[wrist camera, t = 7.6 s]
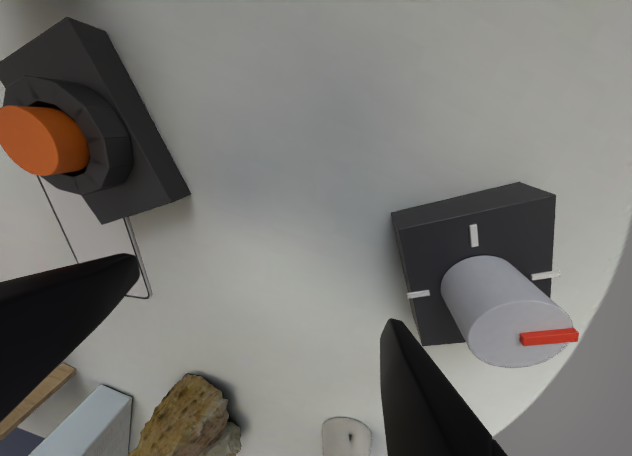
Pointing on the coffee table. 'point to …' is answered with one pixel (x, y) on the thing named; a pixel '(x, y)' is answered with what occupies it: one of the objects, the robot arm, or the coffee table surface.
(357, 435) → the beer glass
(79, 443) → the skincare box
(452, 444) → the robot arm
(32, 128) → the button
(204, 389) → the seashell
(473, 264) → the timer knob
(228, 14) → the coffee table surface
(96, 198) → the button block
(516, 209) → the timer panel
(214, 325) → the coffee table surface
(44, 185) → the smartphone
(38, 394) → the planter
